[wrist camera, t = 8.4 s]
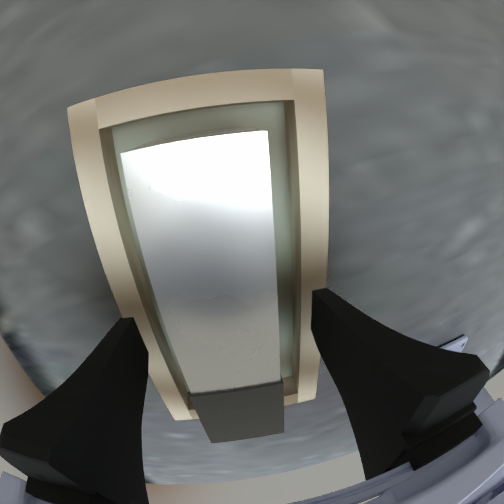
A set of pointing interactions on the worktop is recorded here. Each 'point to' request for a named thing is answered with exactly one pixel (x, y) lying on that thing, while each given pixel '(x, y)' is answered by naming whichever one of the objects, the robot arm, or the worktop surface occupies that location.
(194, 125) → the beige rectangular tray
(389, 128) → the worktop surface
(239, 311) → the grey rectangular block
